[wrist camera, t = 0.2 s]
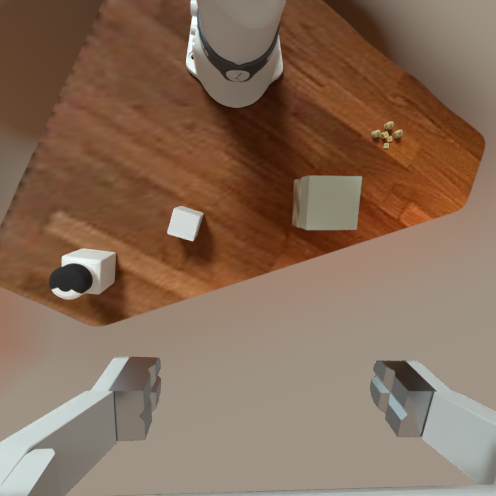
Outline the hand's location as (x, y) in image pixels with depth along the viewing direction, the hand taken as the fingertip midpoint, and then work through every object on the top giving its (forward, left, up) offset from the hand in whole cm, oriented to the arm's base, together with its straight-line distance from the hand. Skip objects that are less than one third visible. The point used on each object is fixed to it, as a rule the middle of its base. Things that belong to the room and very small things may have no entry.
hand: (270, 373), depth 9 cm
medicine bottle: (+9, -30, -48) cm, 57 cm away
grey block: (-1, -9, -47) cm, 48 cm away
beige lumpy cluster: (-20, +33, -48) cm, 62 cm away
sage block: (-5, +19, -43) cm, 47 cm away
